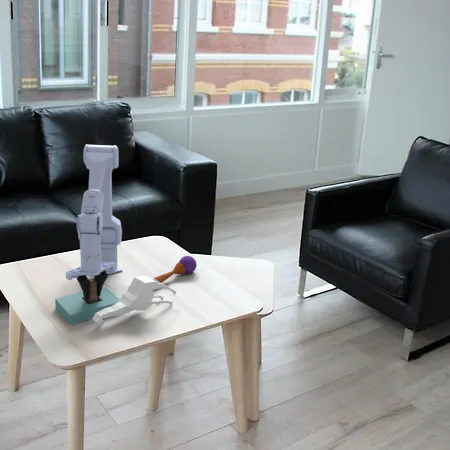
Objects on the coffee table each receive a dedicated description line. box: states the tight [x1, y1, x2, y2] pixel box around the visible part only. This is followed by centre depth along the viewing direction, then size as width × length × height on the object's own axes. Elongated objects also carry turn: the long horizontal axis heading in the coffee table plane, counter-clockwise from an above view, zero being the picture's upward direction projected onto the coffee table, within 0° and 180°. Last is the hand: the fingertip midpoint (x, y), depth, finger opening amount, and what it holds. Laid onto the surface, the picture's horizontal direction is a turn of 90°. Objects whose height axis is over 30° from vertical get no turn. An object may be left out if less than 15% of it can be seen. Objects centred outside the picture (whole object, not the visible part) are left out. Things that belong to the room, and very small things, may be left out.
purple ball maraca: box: [153, 255, 197, 283], centre depth 205 cm, size 6×6×20 cm
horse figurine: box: [91, 275, 177, 331], centre depth 182 cm, size 5×16×25 cm
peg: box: [87, 277, 97, 304], centre depth 184 cm, size 3×3×8 cm
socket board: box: [54, 286, 120, 325], centre depth 184 cm, size 11×16×3 cm
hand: (92, 296), depth 184 cm, fingers closed on peg, 3 cm apart
